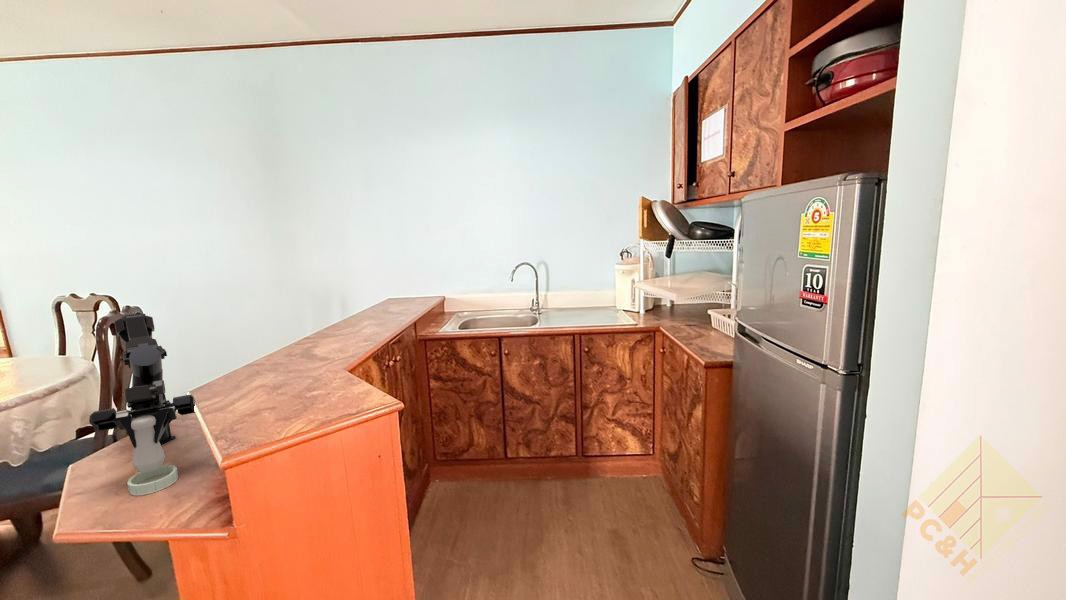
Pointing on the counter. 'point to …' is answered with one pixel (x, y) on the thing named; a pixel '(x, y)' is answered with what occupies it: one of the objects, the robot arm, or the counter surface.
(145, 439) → the salt shaker
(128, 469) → the counter surface
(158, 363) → the robot arm
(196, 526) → the counter surface
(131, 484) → the pale green shallow dish
